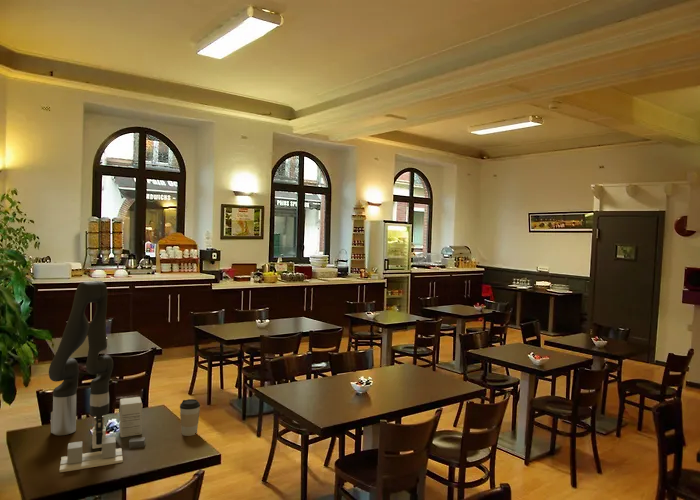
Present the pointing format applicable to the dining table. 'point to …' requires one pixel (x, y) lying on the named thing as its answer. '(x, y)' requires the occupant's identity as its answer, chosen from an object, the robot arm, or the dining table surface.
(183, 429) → the coffee cup
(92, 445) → the expansion module
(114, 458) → the board
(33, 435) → the dining table surface
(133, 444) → the block
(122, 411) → the supplement box
